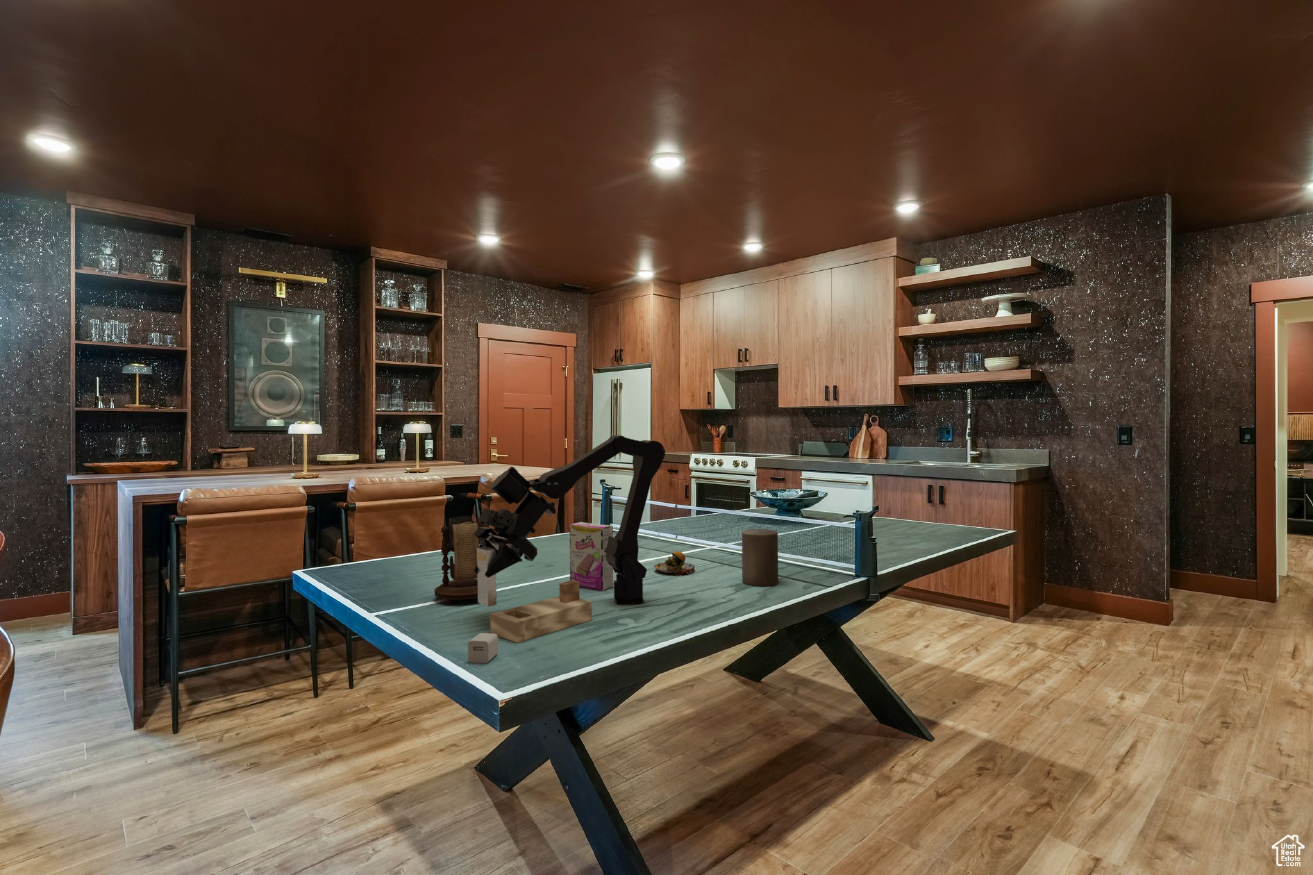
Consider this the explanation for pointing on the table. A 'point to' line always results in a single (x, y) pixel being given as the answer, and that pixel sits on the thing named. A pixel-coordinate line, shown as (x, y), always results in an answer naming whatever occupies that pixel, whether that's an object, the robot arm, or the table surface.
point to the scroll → (460, 562)
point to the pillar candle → (760, 557)
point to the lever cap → (484, 583)
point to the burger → (675, 565)
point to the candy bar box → (590, 555)
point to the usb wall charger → (483, 647)
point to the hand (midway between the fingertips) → (480, 574)
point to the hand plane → (543, 615)
